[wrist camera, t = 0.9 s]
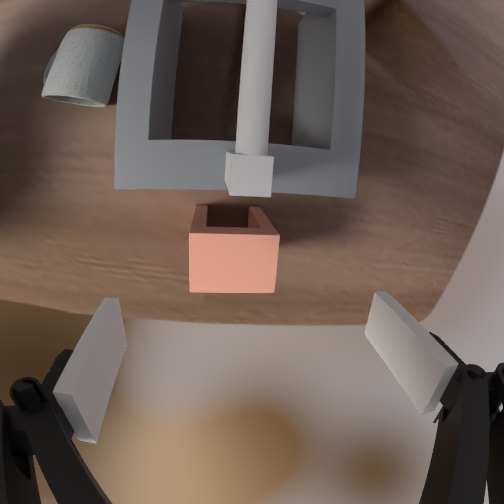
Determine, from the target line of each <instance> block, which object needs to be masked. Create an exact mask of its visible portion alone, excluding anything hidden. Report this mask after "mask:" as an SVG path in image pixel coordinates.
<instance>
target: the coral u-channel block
mask: <svg viewBox="0 0 504 504" xmlns="http://www.w3.org/2000/svg"><path fill="white" fill-rule="evenodd" d="M207 206H208V205H197V206H196V210H195V213H194V217H193V221H192V224H191V228H190V232H189V281H190V292H212V293H274V289H275V279H276V270H277V260H278V250H279V240H280V235H279V234H278V232H277V231H276V229H275V228H274V226H273V225H272V224H271V222H270V221H269V219H268V218H267V217H266V215H265V214H264V213H263V211H262V210H261V208H260V207H249V213H248V228H241V227H207Z"/></svg>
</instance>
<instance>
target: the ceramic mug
mask: <svg viewBox="0 0 504 504" xmlns="http://www.w3.org/2000/svg"><path fill="white" fill-rule="evenodd" d="M124 39H125V38H124V36H123V35H122V34H121V33H120V32H119V31H117V30H115V29H113V28H110V27H107V26H104V25H99V24H81V25H77V26H75V27H73V28H71V29H70V30H69V31H68V32H67V34H66V35H65V37H64V38H63V40H62V42H61V44H60V46H59V49H58V50H57V51H56V52H55V53H54V54H53V56H52V57H51V59H50V61H49V62H48V65H47V67H46V70H45V73H44V78H43V83H44V88H43V91H42V97H44V98H46V99H49V100H54V101H59V102H64V103H70V104H78V105H84V106H93V107H105V106H107V105H108V102H109V98H110V95H111V91H112V88H113V84H114V81H115V78H116V74H117V71H118V67H119V64H120V62H121V59H122V52H123V45H124Z"/></svg>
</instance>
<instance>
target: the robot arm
mask: <svg viewBox="0 0 504 504" xmlns="http://www.w3.org/2000/svg"><path fill="white" fill-rule="evenodd" d="M365 336H366V337H367V339H368V340H369V341H370V343H371V344H372V345H373V347H374V348H375V350H376V351H377V352H378V354H379V355H380V356H381V358H382V359H383V361H384V362H385V363H386V365H387V366H388V368H389V369H390V370H391V372H392V373H393V375H394V376H395V378H396V379H397V380H398V382H399V383H400V385H401V386H402V387H403V389H404V390H405V392H406V393H407V395H408V396H409V398H410V399H411V400H412V402H413V404H414V405H415V406H416V408H417V409H418V411H419V412H420V414H421V415H423V414H426V413H428V412H431V411H434V410H435V408H436V406H437V405H438V403H439V401H440V402H441V403H442V405H443V407H442V409H441V410H440V412H439V414H438V415H437V417H436V419H435V420H434V423H436V421H437V420H438V419H439V422H438V428H437V434H436V439H435V444H434V449H433V453H432V458H431V462H430V466H429V470H428V474H427V478H426V482H425V485H424V489H423V492H422V496H421V499H420V502H419V504H483V503H484V496H485V488H486V480H487V486H488V496H489V504H504V363H500V364H498V366H497V368H496V370H495V372H485V371H484V370H483V369H482V368H481V367H480V366H477V365H474V364H468V365H466V364H465V363H464V362H463V361H462V360H461V359H460V358H459V357H458V356H457V355H456V354H455V353H454V352H453V351H452V350H451V349H450V348H449V347H448V346H447V345H445V343H444V342H443V341H442V340H441V339H440V338H439V337H438V336H436V335H434V334H433V333H431V332H429V333H428V332H427V330H426V329H425V328H423V326H422V325H420V323H419V322H418V321H417V320H416V319H415V318H414V317H413V316H411V315H410V314H409V313H408V312H407V311H406V310H405V309H404V308H403V307H402V306H401V305H400V304H399V303H398V302H397V301H396V300H395V299H394V298H393V297H392V296H391V295H390V294H389V293H388V292H387V291H380V292H374V296H373V301H372V305H371V310H370V314H369V318H368V322H367V326H366V330H365ZM126 346H127V339H126V335H125V330H124V325H123V320H122V314H121V309H120V304H119V298H104V299H103V301H102V303H101V304H100V306H99V308H98V309H97V311H96V313H95V314H94V316H93V318H92V319H91V321H90V323H89V324H88V326H87V328H86V330H85V331H84V333H83V335H82V337H81V339H80V340H79V342H78V344H77V346H76V348H75V349H74V350H68V349H65V350H64V351H63V352H62V353H60V354H59V355H58V356H57V358H56V359H55V361H54V363H53V366H51V368H50V370H49V372H48V373H47V375H46V377H45V379H44V381H43V382H42V384H40V382H39V381H38V380H37V379H35V378H33V377H24V378H21V379H19V380H17V381H16V382H15V383H14V384H13V385H12V386H11V388H10V396H11V398H12V400H13V402H14V403H15V405H16V406H4V405H3V403H2V401H1V400H0V504H41V500H40V496H39V490H38V486H37V480H36V474H35V468H34V462H33V455H35V456H36V459H37V461H38V463H39V466H40V468H41V470H42V472H43V474H44V477H45V479H46V481H47V483H48V485H49V487H50V489H51V491H52V493H53V495H54V497H55V499H56V501H57V503H58V504H112V503H111V501H110V500H109V498H108V497H107V496H106V494H105V493H104V491H103V490H102V489H101V487H100V486H99V484H98V483H97V481H96V480H95V478H94V476H93V475H92V473H91V472H90V470H89V469H88V467H87V466H86V464H85V462H84V460H83V459H82V457H81V455H80V454H79V452H78V450H77V448H76V446H75V445H74V443H73V441H72V440H71V439H72V436H73V433H75V434H76V436H77V438H78V439H79V440H81V441H87V442H92V443H97V439H98V436H99V432H100V428H101V425H102V421H103V418H104V414H105V411H106V407H107V404H108V401H109V398H110V394H111V391H112V388H113V385H114V381H115V379H116V376H117V372H118V370H119V367H120V364H121V361H122V358H123V355H124V352H125V349H126ZM501 404H503V409H502V411H501V412H500V410H499V407H500V405H501Z"/></svg>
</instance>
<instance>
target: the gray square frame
mask: <svg viewBox="0 0 504 504" xmlns="http://www.w3.org/2000/svg"><path fill="white" fill-rule="evenodd" d="M181 2H220V3H238V4H246V15H245V26H244V38H243V50H242V62H241V75H240V88H239V102H238V117H237V132H236V141H219V140H172V123H173V108H174V94H175V83H176V72H177V62H178V53H179V44H180V36H181V29H182V21H183V10H182V5H181ZM277 8H283V9H289V10H295V11H301V12H306V14H305V15H304V16H303V18H302V19H301V20H300V21H299V23H298V40H297V60H296V78H295V94H294V110H293V124H292V138H291V145H282V144H270V143H268V137H269V123H270V108H271V94H272V79H273V63H274V48H275V32H276V16H277ZM364 90H365V7H364V0H132V1H131V6H130V11H129V16H128V21H127V27H126V33H125V39H124V45H123V52H122V60H121V68H120V76H119V86H118V97H117V110H116V127H115V163H114V179H115V190H121V189H195V190H228V192H229V195H230V196H255V197H271V192H274V193H291V194H305V195H319V196H331V197H342V198H353V199H355V196H356V188H357V179H358V170H359V161H360V150H361V139H362V126H363V110H364Z"/></svg>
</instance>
